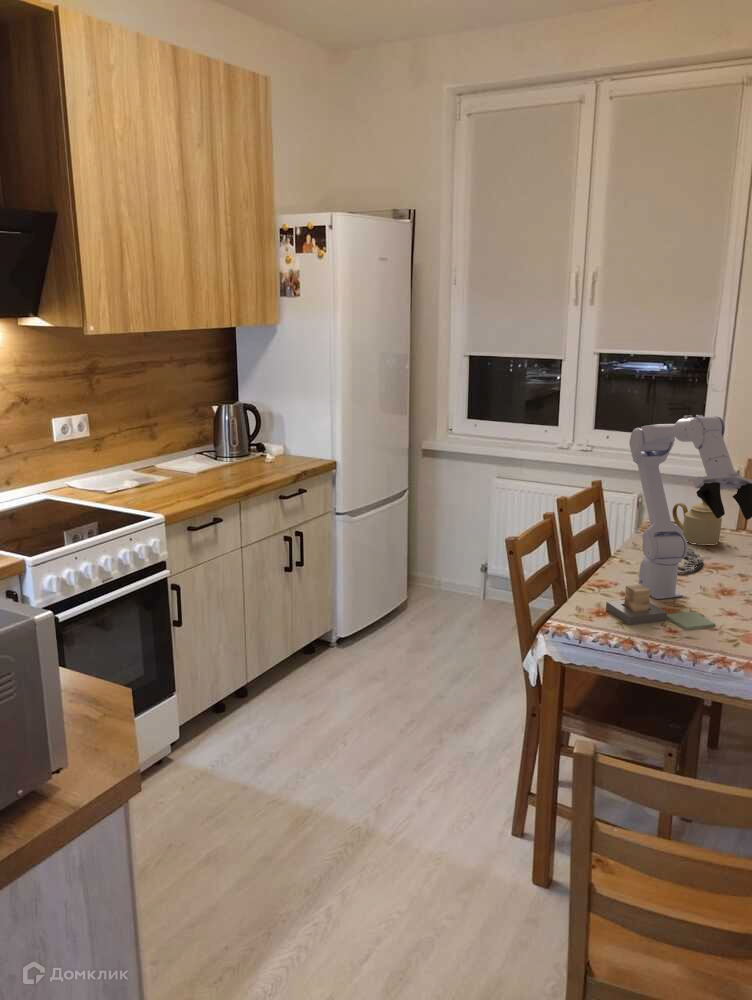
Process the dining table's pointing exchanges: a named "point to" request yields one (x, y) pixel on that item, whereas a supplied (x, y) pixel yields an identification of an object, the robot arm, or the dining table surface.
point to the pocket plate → (636, 613)
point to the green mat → (690, 620)
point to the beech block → (637, 598)
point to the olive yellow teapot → (699, 524)
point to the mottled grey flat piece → (691, 563)
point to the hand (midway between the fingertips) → (735, 517)
